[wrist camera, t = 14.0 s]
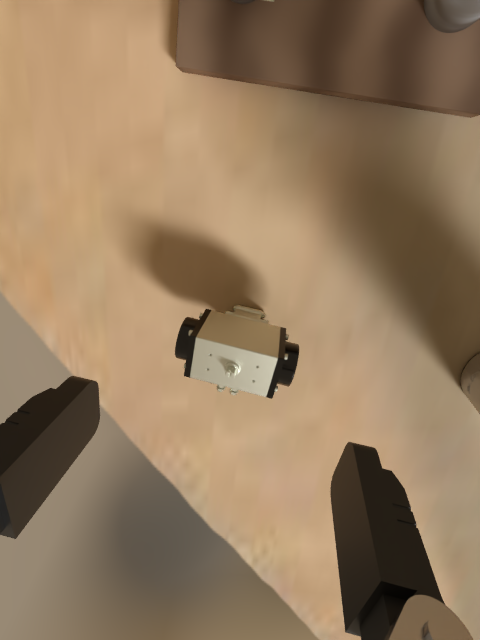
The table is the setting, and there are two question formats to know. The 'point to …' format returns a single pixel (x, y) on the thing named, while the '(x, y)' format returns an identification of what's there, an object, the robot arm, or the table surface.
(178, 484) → the table surface
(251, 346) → the pneumatic valve
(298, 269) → the table surface
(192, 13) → the board
